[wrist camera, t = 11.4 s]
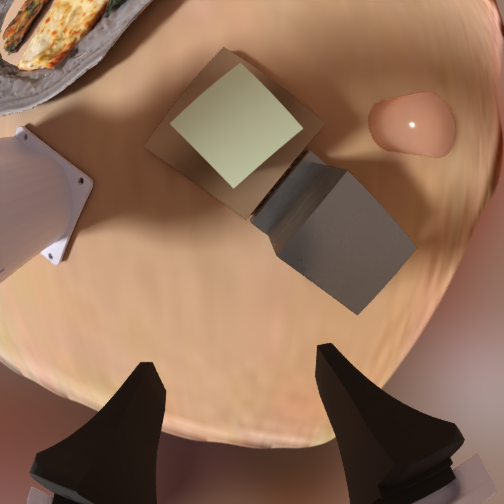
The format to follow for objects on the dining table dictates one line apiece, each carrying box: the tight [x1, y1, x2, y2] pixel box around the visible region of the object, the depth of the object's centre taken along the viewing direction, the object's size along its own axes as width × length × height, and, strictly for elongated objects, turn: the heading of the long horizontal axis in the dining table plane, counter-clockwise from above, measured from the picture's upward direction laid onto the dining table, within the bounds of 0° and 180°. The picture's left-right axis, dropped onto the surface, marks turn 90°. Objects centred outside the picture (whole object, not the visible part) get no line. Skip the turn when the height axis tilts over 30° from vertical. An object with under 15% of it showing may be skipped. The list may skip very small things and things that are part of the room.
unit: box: [250, 150, 417, 315], centre depth 15 cm, size 7×6×6 cm
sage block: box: [170, 63, 303, 189], centre depth 13 cm, size 4×4×5 cm
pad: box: [144, 47, 325, 220], centre depth 15 cm, size 8×8×1 cm
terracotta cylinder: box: [368, 92, 456, 158], centre depth 14 cm, size 4×4×5 cm
